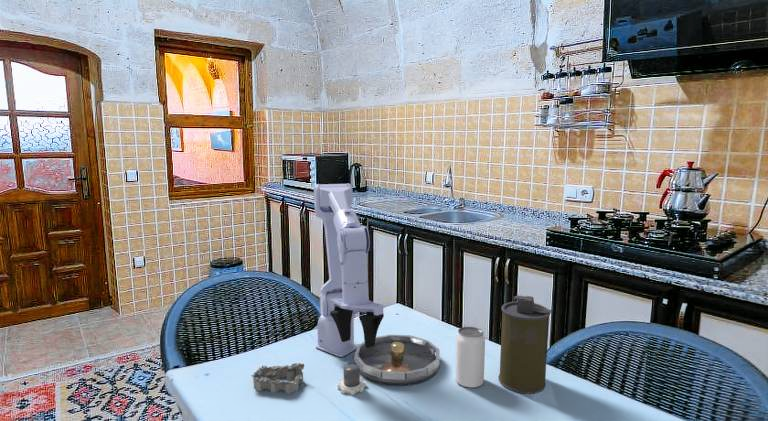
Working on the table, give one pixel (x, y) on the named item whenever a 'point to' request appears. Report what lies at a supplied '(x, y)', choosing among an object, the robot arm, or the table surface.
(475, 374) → the can
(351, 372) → the gear
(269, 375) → the egg carton
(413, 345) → the bowl
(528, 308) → the canister
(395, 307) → the table surface
